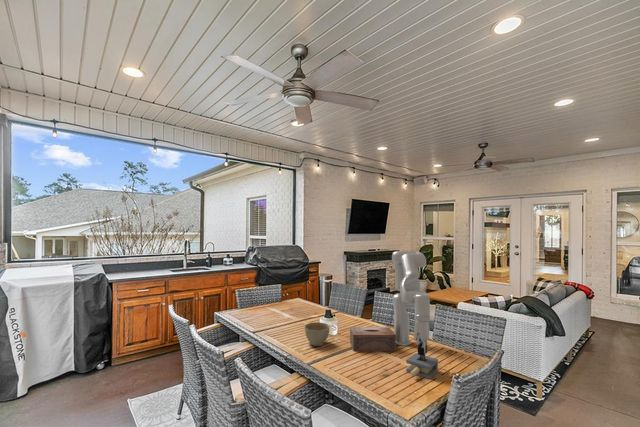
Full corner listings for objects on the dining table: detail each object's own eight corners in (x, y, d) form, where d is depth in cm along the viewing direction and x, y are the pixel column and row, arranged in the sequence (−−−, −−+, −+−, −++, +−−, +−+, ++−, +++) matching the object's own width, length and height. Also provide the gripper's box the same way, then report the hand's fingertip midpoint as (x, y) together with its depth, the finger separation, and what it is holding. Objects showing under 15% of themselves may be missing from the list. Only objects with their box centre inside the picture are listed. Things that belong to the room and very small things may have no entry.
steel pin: (418, 359, 161) (418, 339, 162) (420, 357, 164) (420, 337, 164) (424, 360, 159) (424, 340, 160) (426, 358, 162) (426, 339, 162)
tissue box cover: (389, 342, 203) (389, 327, 203) (395, 351, 188) (395, 334, 189) (349, 342, 201) (350, 327, 202) (353, 351, 187) (353, 334, 188)
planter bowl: (299, 345, 195) (299, 327, 196) (312, 337, 209) (312, 321, 210) (322, 350, 187) (322, 331, 188) (333, 341, 202) (334, 324, 202)
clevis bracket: (401, 376, 156) (401, 363, 156) (415, 364, 170) (415, 353, 170) (425, 383, 148) (425, 370, 149) (437, 370, 162) (437, 359, 163)
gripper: (421, 313, 171) (421, 347, 170) (408, 319, 159) (408, 356, 158) (434, 316, 167) (435, 351, 166) (423, 322, 154) (423, 360, 153)
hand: (422, 353), depth 162 cm, fingers closed on steel pin, 3 cm apart
